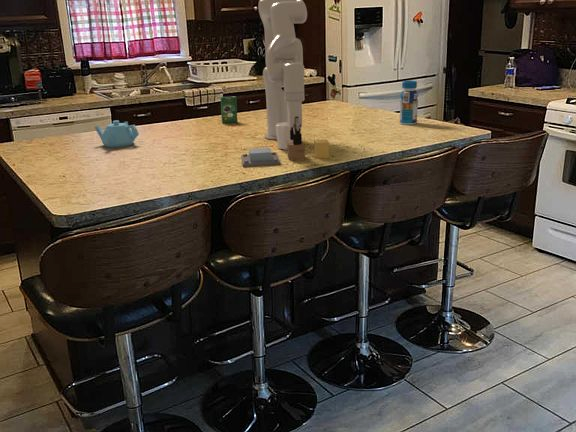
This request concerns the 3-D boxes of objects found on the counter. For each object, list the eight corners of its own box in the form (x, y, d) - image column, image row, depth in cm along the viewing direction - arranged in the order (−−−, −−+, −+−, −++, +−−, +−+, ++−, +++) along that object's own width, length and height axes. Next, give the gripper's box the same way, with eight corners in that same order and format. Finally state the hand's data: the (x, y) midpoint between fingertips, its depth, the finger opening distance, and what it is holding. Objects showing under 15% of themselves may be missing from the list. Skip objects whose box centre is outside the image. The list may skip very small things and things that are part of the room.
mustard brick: (314, 155, 238) (314, 140, 236) (327, 154, 238) (326, 139, 236) (316, 158, 233) (316, 143, 231) (329, 157, 233) (329, 142, 231)
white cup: (279, 150, 247) (278, 126, 243) (274, 147, 254) (273, 123, 251) (297, 149, 249) (297, 124, 245) (292, 145, 256) (291, 121, 252)
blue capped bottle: (396, 122, 294) (397, 80, 288) (411, 121, 297) (413, 79, 290) (404, 125, 287) (405, 82, 280) (420, 124, 289) (422, 81, 282)
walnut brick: (287, 156, 237) (287, 141, 235) (302, 155, 238) (302, 140, 236) (289, 160, 231) (288, 145, 229) (304, 159, 232) (304, 144, 230)
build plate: (241, 158, 237) (240, 147, 236) (276, 155, 238) (276, 145, 237) (242, 166, 224) (242, 155, 223) (280, 164, 225) (279, 153, 224)
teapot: (107, 150, 259) (103, 125, 255) (96, 144, 271) (92, 120, 267) (141, 145, 267) (138, 120, 263) (129, 139, 279) (126, 116, 275)
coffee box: (237, 121, 313) (235, 95, 309) (238, 122, 311) (236, 96, 306) (221, 122, 312) (219, 96, 307) (222, 123, 309) (220, 97, 305)
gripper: (282, 94, 234) (283, 138, 240) (286, 100, 218) (288, 147, 223) (301, 93, 235) (302, 137, 240) (307, 99, 219) (308, 145, 224)
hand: (296, 142), depth 232 cm, fingers open, 9 cm apart
